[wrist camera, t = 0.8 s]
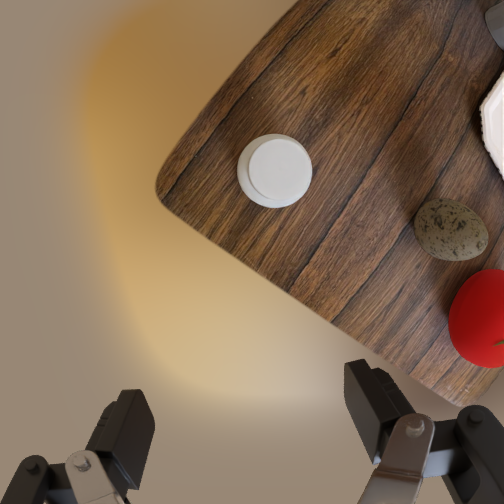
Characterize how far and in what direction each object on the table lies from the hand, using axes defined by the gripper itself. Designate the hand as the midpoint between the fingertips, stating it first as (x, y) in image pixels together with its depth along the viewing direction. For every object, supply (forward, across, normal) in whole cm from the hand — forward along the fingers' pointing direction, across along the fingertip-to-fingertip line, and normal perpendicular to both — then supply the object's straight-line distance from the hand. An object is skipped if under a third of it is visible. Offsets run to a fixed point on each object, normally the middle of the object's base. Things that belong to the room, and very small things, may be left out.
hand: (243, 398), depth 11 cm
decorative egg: (+20, -20, -1) cm, 28 cm away
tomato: (+20, -28, +10) cm, 36 cm away
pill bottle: (+20, -4, -8) cm, 22 cm away
